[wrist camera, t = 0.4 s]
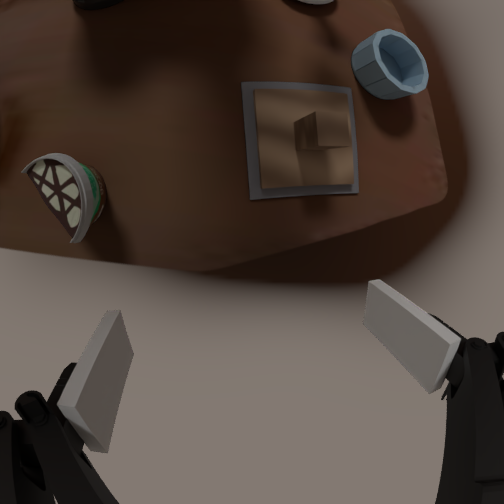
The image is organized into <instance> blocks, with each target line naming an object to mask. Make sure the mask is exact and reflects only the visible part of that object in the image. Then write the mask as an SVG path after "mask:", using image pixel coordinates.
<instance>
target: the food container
mask: <svg viewBox="0 0 504 504" xmlns="http://www.w3.org/2000/svg"><path fill="white" fill-rule="evenodd" d="M22 173H27V174H28V176H29V177H30V179H31V180H32V181H33V183H34V185H35V186H36V188H37V189H38V191H39V193H40V195H41V197H42V199H43V200H44V202H45V204H46V205H47V206H48V208H49V209H50V210H51V211H52V213H53V214H54V215H55V216H56V217H57V219H58V220H59V221H60V222H61V224H62V225H63V226H64V228H65V229H66V230H67V232H68V233H69V234H70V236H71V237H72V238H73V239H72V240H71V242H73V243H78V242H81V240H82V239H83V238H84V236H85V234H86V232H87V231H88V228H89V226H91V225H92V224H93V223H94V222H95V221H96V220H97V219H98V218H99V216H100V215H101V213H102V211H103V209H104V206H105V202H106V196H107V194H106V185H105V182H104V180H103V177H102V176H101V174H100V173H99V172H98V171H97V170H96V169H95V168H94V167H92V166H89V165H86V164H81V163H78V162H77V161H76V160H74V159H73V158H72V157H70V156H68V155H65V154H61V153H52V154H48V155H45V156H42V157H39V158H37V159H35V160H34V161H32V162H31V163H30V164H29V165H28V166H27V167H25V169H24V170H23V171H22ZM71 242H70V243H71Z"/></svg>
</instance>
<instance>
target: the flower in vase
mask: <svg viewBox="0 0 504 504" xmlns="http://www.w3.org/2000/svg"><path fill="white" fill-rule="evenodd" d="M298 1H301V2H305V3H309V4H326V3H330V2H332V1H333V0H298Z"/></svg>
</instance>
